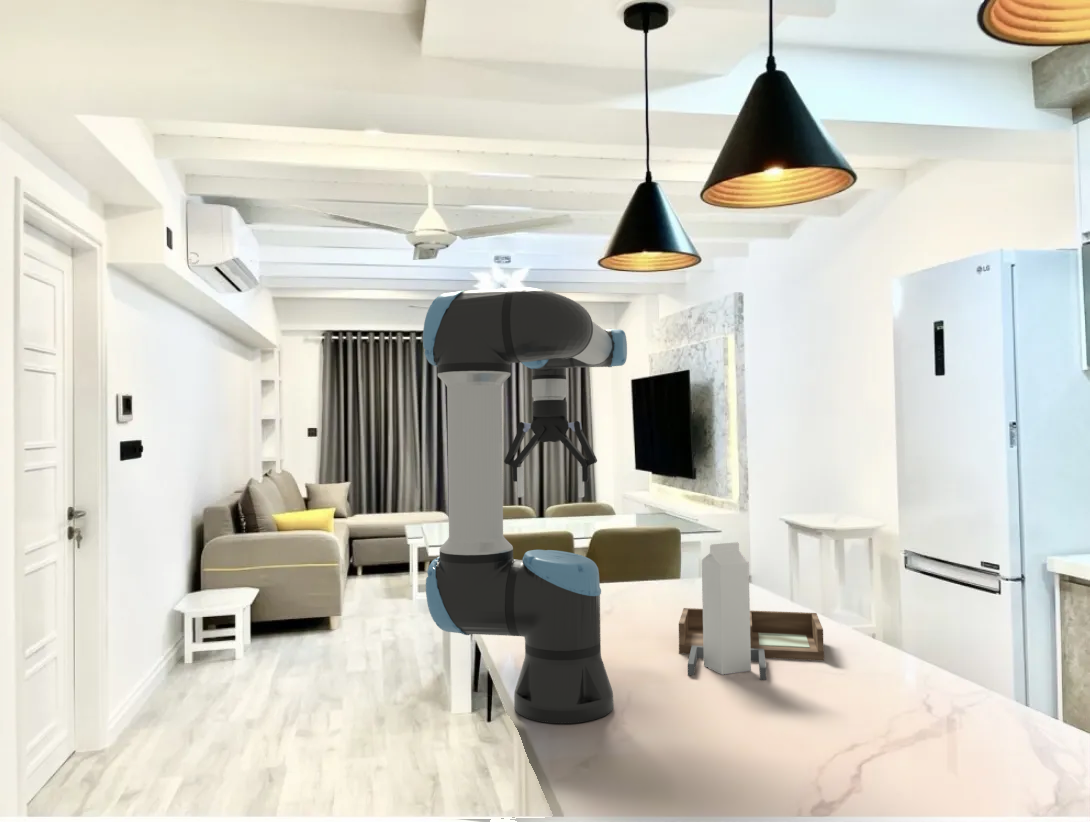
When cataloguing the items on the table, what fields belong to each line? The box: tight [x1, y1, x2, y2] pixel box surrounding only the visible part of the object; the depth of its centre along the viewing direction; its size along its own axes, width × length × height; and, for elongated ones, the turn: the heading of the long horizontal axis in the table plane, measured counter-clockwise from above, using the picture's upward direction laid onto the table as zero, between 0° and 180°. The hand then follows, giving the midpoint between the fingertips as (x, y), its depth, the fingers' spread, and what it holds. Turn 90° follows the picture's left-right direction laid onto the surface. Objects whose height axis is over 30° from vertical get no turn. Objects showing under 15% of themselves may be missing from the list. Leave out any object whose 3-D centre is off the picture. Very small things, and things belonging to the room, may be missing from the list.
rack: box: [678, 607, 825, 662], centre depth 155 cm, size 14×26×6 cm, turn 76°
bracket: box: [687, 645, 767, 681], centre depth 142 cm, size 12×13×2 cm
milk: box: [701, 541, 752, 676], centre depth 142 cm, size 6×6×22 cm
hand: (550, 497), depth 174 cm, fingers open, 13 cm apart
